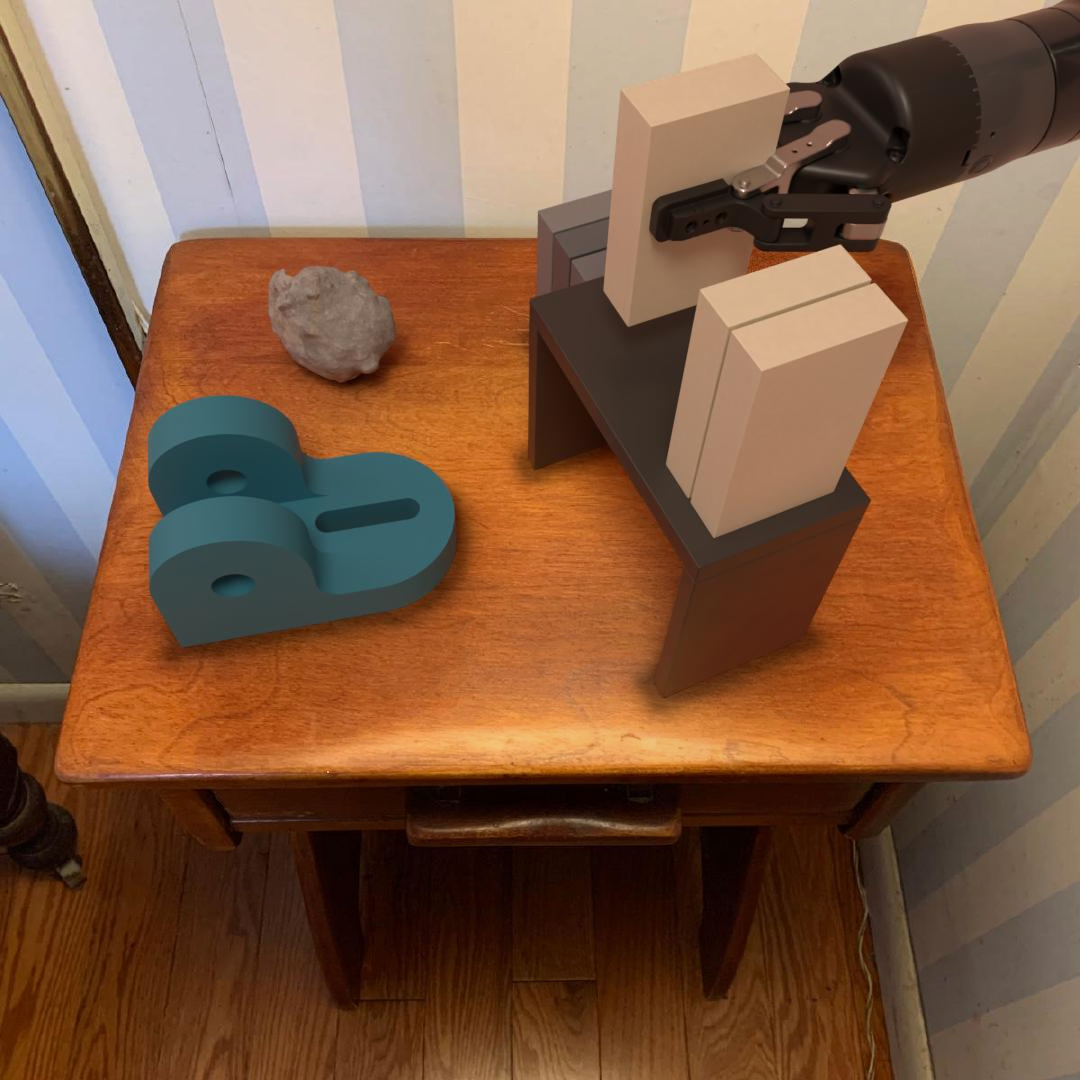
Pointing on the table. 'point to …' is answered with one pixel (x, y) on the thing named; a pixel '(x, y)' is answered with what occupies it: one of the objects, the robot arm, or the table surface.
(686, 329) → the shelf
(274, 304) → the stone
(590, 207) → the grey books
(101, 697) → the table surface
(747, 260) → the beige rectangular block
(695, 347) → the white books
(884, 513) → the table surface
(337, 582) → the bracket
